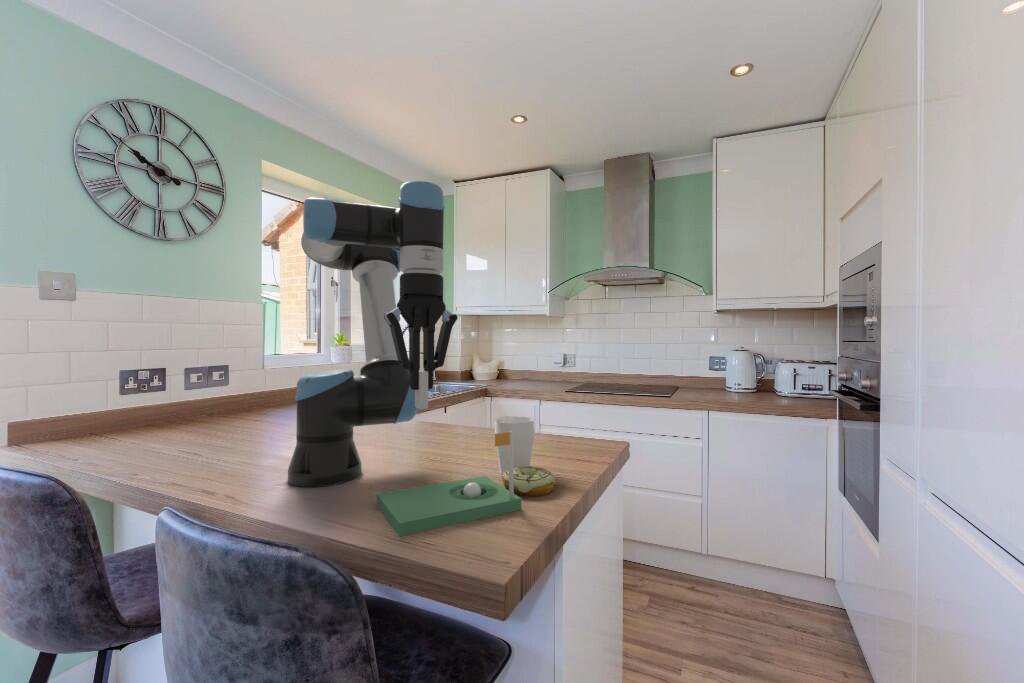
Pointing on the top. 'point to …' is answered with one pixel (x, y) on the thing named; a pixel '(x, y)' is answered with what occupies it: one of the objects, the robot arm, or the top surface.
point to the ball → (472, 489)
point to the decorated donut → (530, 481)
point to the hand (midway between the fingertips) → (421, 407)
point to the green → (450, 500)
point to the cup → (515, 441)
